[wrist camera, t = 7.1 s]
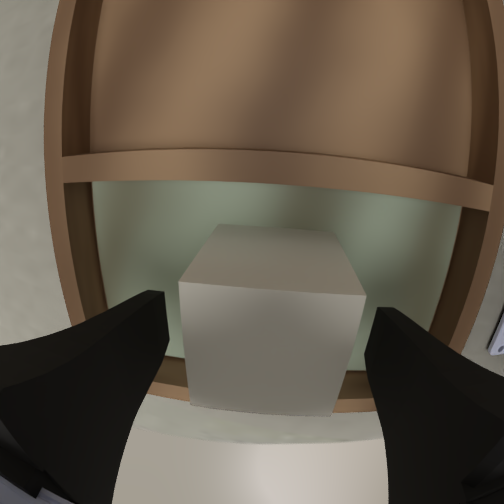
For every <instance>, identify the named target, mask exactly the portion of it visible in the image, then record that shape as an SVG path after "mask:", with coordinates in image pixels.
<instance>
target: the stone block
mask: <svg viewBox="0 0 504 504" xmlns="http://www.w3.org/2000/svg"><path fill="white" fill-rule="evenodd" d="M178 284H179V298H180V312H181V324H182V335H183V345H184V355H185V364H186V373H187V381H188V389H189V396H190V404H191V405H193V406H200V407H206V408H213V409H221V410H229V411H237V412H247V413H258V414H271V415H289V416H331V415H332V412H333V409H334V406H335V404H336V401H337V398H338V395H339V392H340V389H341V386H342V383H343V380H344V377H345V373H346V370H347V367H348V364H349V360H350V357H351V354H352V350H353V347H354V343H355V340H356V336H357V332H358V328H359V325H360V321H361V317H362V313H363V309H364V305H365V300H366V296H367V295H366V293H365V291H364V289H363V287H362V285H361V283H360V281H359V279H358V277H357V275H356V273H355V271H354V270H353V268H352V266H351V264H350V262H349V260H348V258H347V256H346V254H345V252H344V250H343V248H342V247H341V245H340V243H339V241H338V239H337V237H336V235H335V234H334V232H325V231H313V230H300V229H287V228H274V227H260V226H246V225H230V224H218V225H217V227H216V228H215V229H214V231H213V232H212V234H211V235H210V236H209V238H208V239H207V241H206V242H205V244H204V245H203V246H202V248H201V249H200V251H199V252H198V254H197V255H196V256H195V258H194V259H193V261H192V262H191V264H190V265H189V267H188V268H187V270H186V271H185V272H184V274H183V275H182V277H181V278H180V280H179V281H178Z"/></svg>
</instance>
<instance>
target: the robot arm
mask: <svg viewBox="0 0 504 504" xmlns="http://www.w3.org/2000/svg"><path fill="white" fill-rule="evenodd" d="M169 341H170V336H169V328H168V320H167V311H166V301H165V291H156V290H146V291H144V292H141V293H139V294H137V295H135V296H133V297H131V298H129V299H127V300H125V301H124V302H122V303H120V304H118V305H116V306H114V307H112V308H110V309H108V310H106V311H105V312H103V313H100V314H98V315H96V316H94V317H92V318H90V319H88V320H86V321H84V322H82V323H79V324H77V325H75V326H72V327H70V328H67V329H64V330H62V331H59V332H56V333H53V334H50V335H47V336H43V337H39V338H36V339H32V340H28V341H24V342H20V343H14V344H9V345H2V346H0V504H112V499H113V493H114V488H115V483H116V479H117V475H118V471H119V467H120V462H121V459H122V455H123V452H124V449H125V445H126V442H127V439H128V436H129V433H130V430H131V427H132V424H133V421H134V419H135V416H136V414H137V412H138V410H139V408H140V406H141V404H142V402H143V400H144V398H145V396H146V394H147V392H148V390H149V388H150V386H151V384H152V382H153V380H154V378H155V376H156V374H157V372H158V370H159V368H160V366H161V364H162V362H163V359H164V356H165V353H166V350H167V347H168V344H169ZM488 352H489V353H490V354H491V355H499V354H504V313H503V315H502V318H501V320H500V323H499V325H498V327H497V330H496V332H495V334H494V337H493V339H492V341H491V343H490V345H489V348H488ZM364 359H365V366H366V372H367V378H368V382H369V385H370V389H371V392H372V395H373V399H374V402H375V406H376V409H377V413H378V416H379V420H380V423H381V427H382V431H383V436H384V440H385V449H386V458H387V468H388V490H389V491H388V492H389V504H504V377H503V376H500V375H498V374H496V373H494V372H491V371H489V370H487V369H485V368H483V367H481V366H479V365H478V364H476V363H474V362H472V361H471V360H469V359H467V358H465V357H464V356H462V355H460V354H459V353H457V352H456V351H454V350H453V349H451V348H450V347H448V346H447V345H445V344H444V343H442V342H441V341H440V340H438V339H437V338H436V337H434V336H433V335H431V334H430V333H429V332H427V331H426V330H425V329H423V328H422V327H421V326H420V325H418V324H417V323H416V322H414V321H413V320H412V319H410V318H409V317H408V316H406V315H405V314H403V313H402V312H400V311H399V310H397V309H396V308H394V307H377V310H376V313H375V317H374V321H373V324H372V328H371V332H370V335H369V339H368V342H367V345H366V349H365V352H364Z"/></svg>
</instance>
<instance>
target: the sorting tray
mask: <svg viewBox="0 0 504 504" xmlns="http://www.w3.org/2000/svg"><path fill="white" fill-rule="evenodd" d="M44 160H45V179H46V192H47V202H48V211H49V220H50V227H51V234H52V240H53V246H54V252H55V258H56V263H57V268H58V273H59V278H60V282H61V287H62V291H63V295H64V299H65V303H66V307H67V311H68V314H69V318H70V322H71V325H72V326H75V325H77V324H79V323H82V322H84V321H86V320H88V319H90V318H92V317H94V316H96V315H98V314H100V313H103V312H105V311H106V310H108V309H110V308H112V307H114V306H116V305H118V304H120V303H122V302H124V301H125V300H127V299H129V298H131V297H133V296H135V295H137V294H139V293H141V292H144V291H146V290H156V291H165V301H166V311H167V320H168V328H169V336H170V341H169V344H168V347H167V350H166V353H165V356H164V359H163V362H162V364H161V366H160V368H159V370H158V372H157V374H156V376H155V378H154V380H153V382H152V384H151V386H150V388H149V390H148V392H147V394H152V395H156V396H161V397H166V398H172V399H177V400H183V401H189V402H190V396H189V389H188V381H187V373H186V364H185V355H184V345H183V335H182V324H181V312H180V298H179V284H178V281H179V280H180V278H181V277H182V275H183V274H184V272H185V271H186V270H187V268H188V267H189V265H190V264H191V262H192V261H193V259H194V258H195V256H196V255H197V254H198V252H199V251H200V249H201V248H202V246H203V245H204V244H205V242H206V241H207V239H208V238H209V236H210V235H211V234H212V232H213V231H214V229H215V228H216V227H217V225H218V224H230V225H246V226H260V227H274V228H287V229H300V230H313V231H325V232H334V234H335V235H336V237H337V239H338V241H339V243H340V245H341V247H342V248H343V250H344V252H345V254H346V256H347V258H348V260H349V262H350V264H351V266H352V268H353V270H354V271H355V273H356V275H357V277H358V279H359V281H360V283H361V285H362V287H363V289H364V291H365V293H366V295H367V296H366V300H365V305H364V309H363V313H362V317H361V321H360V325H359V328H358V332H357V336H356V340H355V343H354V347H353V350H352V354H351V357H350V360H349V364H348V367H347V370H346V373H345V377H344V380H343V383H342V386H341V389H340V392H339V395H338V398H337V401H336V404H335V406H334V409H333V412H332V413H346V412H371V411H377V409H376V406H375V402H374V399H373V395H372V392H371V389H370V385H369V382H368V378H367V372H366V366H365V359H364V352H365V349H366V345H367V342H368V339H369V335H370V332H371V328H372V324H373V321H374V317H375V313H376V310H377V307H394V308H396V309H397V310H399V311H400V312H402V313H403V314H405V315H406V316H408V317H409V318H410V319H412V320H413V321H414V322H416V323H417V324H418V325H420V326H421V327H422V328H423V329H425V330H426V331H427V332H429V333H430V334H431V335H433V336H434V337H436V338H437V339H438V340H440V341H441V342H442V343H444V344H445V345H447V346H448V347H450V348H451V349H453V350H454V351H456V352H457V353H459V354H461V352H462V350H463V348H464V346H465V343H466V341H467V339H468V337H469V334H470V332H471V329H472V327H473V325H474V322H475V320H476V317H477V314H478V312H479V309H480V306H481V304H482V301H483V298H484V295H485V292H486V289H487V286H488V283H489V280H490V277H491V273H492V270H493V266H494V263H495V259H496V256H497V252H498V248H499V244H500V240H501V236H502V231H503V226H504V6H503V1H502V0H60V1H59V5H58V9H57V14H56V19H55V24H54V29H53V34H52V40H51V47H50V54H49V61H48V70H47V80H46V92H45V110H44Z"/></svg>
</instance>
